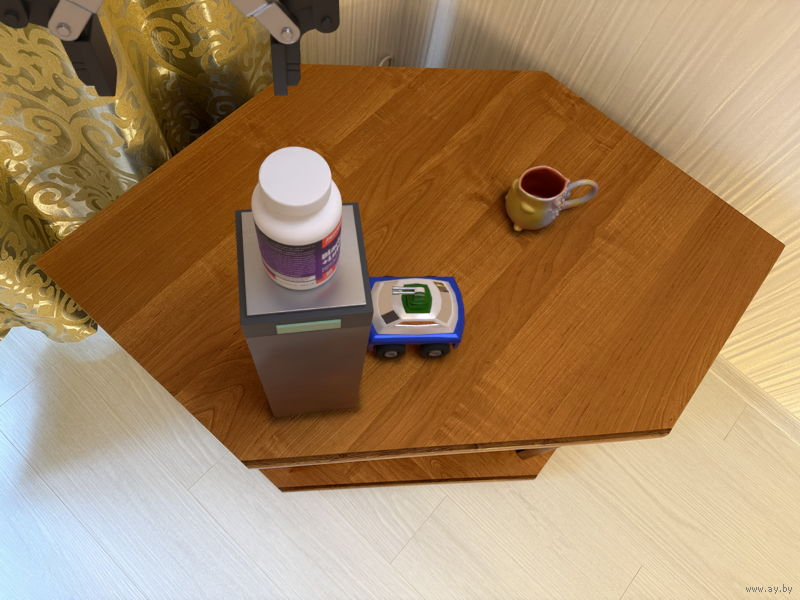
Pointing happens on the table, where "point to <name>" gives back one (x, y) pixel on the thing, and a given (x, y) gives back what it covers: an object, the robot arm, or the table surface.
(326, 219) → the pill bottle
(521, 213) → the mug
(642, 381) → the table surface
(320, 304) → the tall grey box
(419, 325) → the toy car
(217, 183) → the table surface
